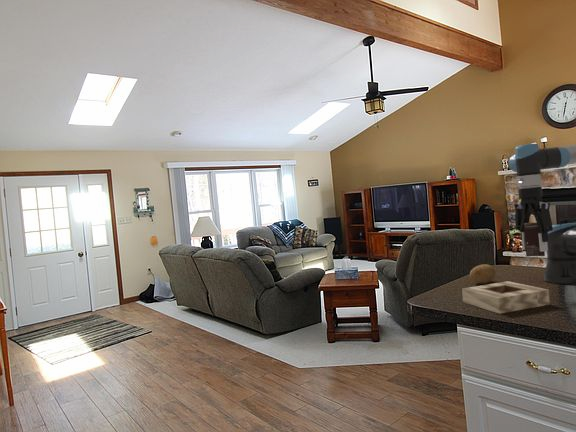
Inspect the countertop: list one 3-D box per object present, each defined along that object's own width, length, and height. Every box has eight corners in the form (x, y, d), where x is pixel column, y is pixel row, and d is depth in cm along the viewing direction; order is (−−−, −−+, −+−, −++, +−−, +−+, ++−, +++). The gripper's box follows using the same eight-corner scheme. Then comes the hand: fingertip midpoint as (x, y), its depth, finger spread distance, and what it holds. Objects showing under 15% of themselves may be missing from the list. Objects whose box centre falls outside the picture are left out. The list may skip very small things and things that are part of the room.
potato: (499, 280, 184) (497, 262, 184) (492, 287, 173) (491, 267, 172) (475, 279, 190) (473, 261, 190) (467, 286, 178) (466, 267, 178)
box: (526, 257, 154) (523, 224, 154) (526, 255, 158) (523, 222, 158) (545, 256, 151) (542, 222, 151) (545, 254, 155) (542, 221, 155)
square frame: (509, 294, 159) (508, 281, 159) (549, 304, 142) (548, 289, 142) (463, 302, 154) (461, 288, 154) (499, 313, 137) (498, 298, 137)
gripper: (500, 189, 163) (506, 249, 164) (544, 186, 144) (549, 254, 144) (517, 187, 165) (522, 246, 165) (562, 184, 145) (567, 251, 146)
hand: (535, 250), depth 155 cm, fingers closed on box, 7 cm apart
